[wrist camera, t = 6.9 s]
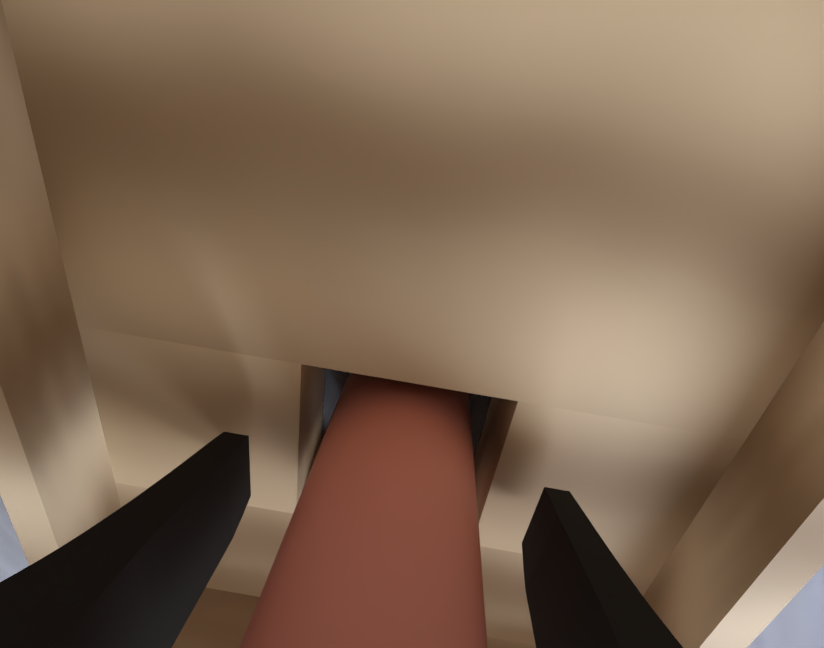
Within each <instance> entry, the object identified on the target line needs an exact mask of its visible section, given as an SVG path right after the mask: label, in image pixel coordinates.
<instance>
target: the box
mask: <svg viewBox="0 0 824 648" xmlns="http://www.w3.org/2000/svg"><path fill="white" fill-rule="evenodd" d="M326 369H332V370H338V371H344V372H350V373H355V374H361V375H367V376H373V377H379V378H385V379H391V380H396V381H402V382H408V383H414V384H420V385H426V386H432V387H437V388H443V389H449V390H455V391H461V392H467V393H472V394H478V395H484V396H490V397H492V398H491V401H490V405H489V408H488V412H487V415H486V419H485V422H484V426H483V429H482V433H481V436H480V440H479V443H478V447H477V450H476V454H475V457H474V468H475V482H476V495H477V509H478V523H479V537H480V550H481V564H482V578H483V592H484V605H485V619H486V633H487V647H488V648H536V644H535V639H534V634H533V629H532V623H531V618H530V612H529V607H528V602H527V596H526V590H525V580H524V569H523V554H522V541H523V539H524V536H525V534H526V531H527V529H528V526H529V524H530V521H531V519H532V516H533V514H534V511H535V509H536V506H537V504H538V501H539V499H540V496H541V494H542V491H543V489H544V487H548V488H554V489H560V490H565V491H570V493H571V494H572V495H573V497H574V498H575V500H576V501H577V503H578V504H579V506H580V507H581V509H582V510H583V512H584V513H585V514H586V516H587V517H588V519H589V520H590V522H591V523H592V525H593V526H594V528H595V529H596V531H597V532H598V534H599V535H600V537H601V538H602V539H603V541H604V542H605V544H606V545H607V547H608V548H609V550H610V551H611V552H612V554H613V555H614V557H615V558H616V560H617V561H618V562H619V564H620V565H621V567H622V568H623V569H624V571H625V572H626V574H627V575H628V576H629V578H630V579H631V580H632V582H633V583H634V585H635V586H636V587H637V589H638V590H639V592H640V593H641V594H642V596H643V597H644V598H645V600H646V601H647V602H648V603H649V605H650V606H651V607H652V609H653V610H654V611H655V613H656V614H657V615H658V616H659V618H660V619H661V620H662V621H663V623H664V624H665V625H666V627H667V628H668V629H669V630H670V632H671V633H672V634H673V635H674V637H675V638H676V639H677V641H678V642H679V643H680V644H681V645H682V647H683V648H747V647H748V646H749V645H750V644H751V643H752V641H753V640H754V639H755V638H756V637H757V636H758V635H759V634H760V633H761V632H762V631H763V630H764V629H765V627H766V626H767V625H768V624H769V623H770V622H771V621H772V620H773V619H774V618H775V617H776V616H777V615H778V613H779V612H780V611H781V610H782V609H783V608H784V607H785V606H786V605H787V604H788V603H789V602H790V600H791V599H792V598H793V597H794V596H795V595H796V594H797V593H798V592H799V591H800V590H801V589H802V588H803V586H804V585H805V584H806V583H807V582H808V581H809V580H810V579H811V578H812V577H813V576H814V575H815V574H816V572H817V571H818V570H819V569H820V568H821V567H822V566H823V565H824V0H0V495H1V498H2V500H3V502H4V505H5V507H6V510H7V512H8V514H9V517H10V519H11V522H12V524H13V527H14V529H15V531H16V534H17V536H18V539H19V541H20V543H21V546H22V548H23V551H24V553H25V556H26V558H27V560H28V563H29V565H32V564H33V563H35V562H37V561H38V560H40V559H42V558H43V557H45V556H47V555H48V554H50V553H52V552H53V551H55V550H57V549H58V548H60V547H61V546H63V545H65V544H66V543H68V542H69V541H71V540H73V539H74V538H76V537H77V536H79V535H80V534H82V533H84V532H85V531H87V530H88V529H90V528H91V527H93V526H94V525H96V524H97V523H99V522H100V521H102V520H103V519H104V518H106V517H107V516H109V515H110V514H112V513H113V512H115V511H116V510H118V509H119V508H121V507H122V506H124V505H125V504H127V503H128V502H130V501H131V500H132V499H134V498H135V497H137V496H138V495H139V494H141V493H142V492H144V491H145V490H146V489H148V488H149V487H150V486H152V485H153V484H155V483H156V482H157V481H159V480H160V479H161V478H163V477H164V476H166V475H167V474H168V473H170V472H171V471H172V470H174V469H175V468H176V467H178V466H179V465H180V464H182V463H183V462H184V461H185V460H187V459H188V458H189V457H191V456H192V455H193V454H195V453H196V452H197V451H199V450H200V449H201V448H202V447H204V446H205V445H206V444H208V443H209V442H210V441H212V440H213V439H214V438H216V437H217V436H218V435H220V434H221V433H223V432H230V433H235V434H241V435H247V436H249V456H250V484H251V497H250V499H249V502H248V504H247V506H246V509H245V511H244V514H243V516H242V519H241V521H240V523H239V525H238V528H237V530H236V532H235V535H234V537H233V539H232V541H231V543H230V544H229V546H228V548H227V550H226V552H225V553H224V555H223V557H222V559H221V561H220V562H219V564H218V566H217V568H216V570H215V571H214V573H213V575H212V577H211V579H210V580H209V582H208V584H207V586H206V587H205V589H204V591H203V593H202V595H201V596H200V598H199V600H198V602H197V603H196V605H195V607H194V609H193V611H192V612H191V614H190V616H189V618H188V619H187V621H186V623H185V625H184V627H183V628H182V630H181V632H180V634H179V635H178V637H177V639H176V641H175V643H174V645H173V647H172V648H240V645H241V643H242V640H243V638H244V635H245V633H246V630H247V628H248V625H249V623H250V620H251V618H252V615H253V613H254V610H255V608H256V605H257V603H258V600H259V598H260V595H261V593H262V590H263V588H264V585H265V583H266V580H267V578H268V575H269V573H270V570H271V568H272V565H273V563H274V560H275V558H276V555H277V553H278V550H279V548H280V545H281V543H282V540H283V538H284V535H285V533H286V530H287V528H288V525H289V523H290V520H291V518H292V515H293V513H294V510H295V508H296V505H297V503H298V500H299V498H300V495H301V493H302V490H303V488H304V485H305V483H306V480H307V478H308V475H309V473H310V470H311V468H312V465H313V463H314V460H315V458H316V455H317V453H318V450H319V447H320V445H321V432H322V416H323V401H324V385H325V370H326Z"/></svg>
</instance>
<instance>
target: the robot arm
mask: <svg viewBox="0 0 824 648" xmlns="http://www.w3.org/2000/svg"><path fill="white" fill-rule="evenodd" d="M250 497H251V484H250V456H249V436H247V435H241V434H235V433H230V432H223V433H221V434H220V435H218V436H217V437H216V438H214V439H213V440H212V441H210V442H209V443H208V444H206V445H205V446H204V447H202V448H201V449H200V450H199V451H197V452H196V453H195V454H193V455H192V456H191V457H189V458H188V459H187V460H185V461H184V462H183V463H182V464H180V465H179V466H178V467H176V468H175V469H174V470H172V471H171V472H170V473H168V474H167V475H166V476H164V477H163V478H161V479H160V480H159V481H157V482H156V483H155V484H153V485H152V486H150V487H149V488H148V489H146V490H145V491H144V492H142V493H141V494H139V495H138V496H137V497H135V498H134V499H132V500H131V501H130V502H128V503H127V504H125V505H124V506H122V507H121V508H119V509H118V510H116V511H115V512H113V513H112V514H110V515H109V516H107V517H106V518H104V519H103V520H102V521H100V522H99V523H97V524H96V525H94V526H93V527H91V528H90V529H88V530H87V531H85V532H84V533H82V534H80V535H79V536H77V537H76V538H74V539H73V540H71V541H69V542H68V543H66V544H65V545H63V546H61V547H60V548H58V549H57V550H55V551H53V552H52V553H50V554H48V555H47V556H45V557H43V558H42V559H40V560H38V561H37V562H35V563H33V564H32V565H30V566H28V567H27V568H25V569H23V570H21V571H20V572H18V573H16V574H14V575H13V576H11V577H9V578H7V579H5V580H4V581H2V582H0V648H172V647H173V645H174V643H175V641H176V639H177V637H178V635H179V634H180V632H181V630H182V628H183V627H184V625H185V623H186V621H187V619H188V618H189V616H190V614H191V612H192V611H193V609H194V607H195V605H196V603H197V602H198V600H199V598H200V596H201V595H202V593H203V591H204V589H205V587H206V586H207V584H208V582H209V580H210V579H211V577H212V575H213V573H214V571H215V570H216V568H217V566H218V564H219V562H220V561H221V559H222V557H223V555H224V553H225V552H226V550H227V548H228V546H229V544H230V543H231V541H232V539H233V537H234V535H235V532H236V530H237V528H238V525H239V523H240V521H241V519H242V516H243V514H244V511H245V509H246V506H247V504H248V502H249V499H250ZM522 554H523V569H524V580H525V590H526V596H527V602H528V607H529V612H530V618H531V623H532V629H533V634H534V639H535V644H536V648H683V647H682V645H681V644H680V643H679V642H678V641H677V639H676V638H675V637H674V635H673V634H672V633H671V632H670V630H669V629H668V628H667V627H666V625H665V624H664V623H663V621H662V620H661V619H660V618H659V616H658V615H657V614H656V613H655V611H654V610H653V609H652V607H651V606H650V605H649V603H648V602H647V601H646V600H645V598H644V597H643V596H642V594H641V593H640V592H639V590H638V589H637V587H636V586H635V585H634V583H633V582H632V580H631V579H630V578H629V576H628V575H627V574H626V572H625V571H624V569H623V568H622V567H621V565H620V564H619V562H618V561H617V560H616V558H615V557H614V555H613V554H612V552H611V551H610V550H609V548H608V547H607V545H606V544H605V542H604V541H603V539H602V538H601V537H600V535H599V534H598V532H597V531H596V529H595V528H594V526H593V525H592V523H591V522H590V520H589V519H588V517H587V516H586V514H585V513H584V512H583V510H582V509H581V507H580V506H579V504H578V503H577V501H576V500H575V498H574V497H573V495H572V494H571V493H570V491H565V490H560V489H554V488H548V487H544V489H543V491H542V494H541V496H540V499H539V501H538V504H537V506H536V509H535V511H534V514H533V516H532V519H531V521H530V524H529V526H528V529H527V531H526V534H525V536H524V539H523V541H522Z"/></svg>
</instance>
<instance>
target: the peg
mask: <svg viewBox="0 0 824 648" xmlns="http://www.w3.org/2000/svg"><path fill="white" fill-rule="evenodd" d="M240 648H488V647H487V633H486V619H485V605H484V592H483V578H482V564H481V550H480V537H479V523H478V509H477V495H476V482H475V468H474V454H473V441H472V427H471V413H470V399H469V393H467V392H461V391H455V390H449V389H443V388H437V387H432V386H426V385H420V384H414V383H408V382H402V381H396V380H391V379H385V378H379V377H373V376H367V375H361V374H355V373H350V374H349V376H348V378H347V380H346V382H345V385H344V387H343V390H342V392H341V395H340V397H339V400H338V402H337V405H336V407H335V410H334V412H333V415H332V417H331V420H330V422H329V425H328V427H327V430H326V432H325V435H324V437H323V440H322V442H321V445H320V447H319V450H318V453H317V455H316V458H315V460H314V463H313V465H312V468H311V470H310V473H309V475H308V478H307V480H306V483H305V485H304V488H303V490H302V493H301V495H300V498H299V500H298V503H297V505H296V508H295V510H294V513H293V515H292V518H291V520H290V523H289V525H288V528H287V530H286V533H285V535H284V538H283V540H282V543H281V545H280V548H279V550H278V553H277V555H276V558H275V560H274V563H273V565H272V568H271V570H270V573H269V575H268V578H267V580H266V583H265V585H264V588H263V590H262V593H261V595H260V598H259V600H258V603H257V605H256V608H255V610H254V613H253V615H252V618H251V620H250V623H249V625H248V628H247V630H246V633H245V635H244V638H243V640H242V643H241V645H240Z"/></svg>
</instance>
